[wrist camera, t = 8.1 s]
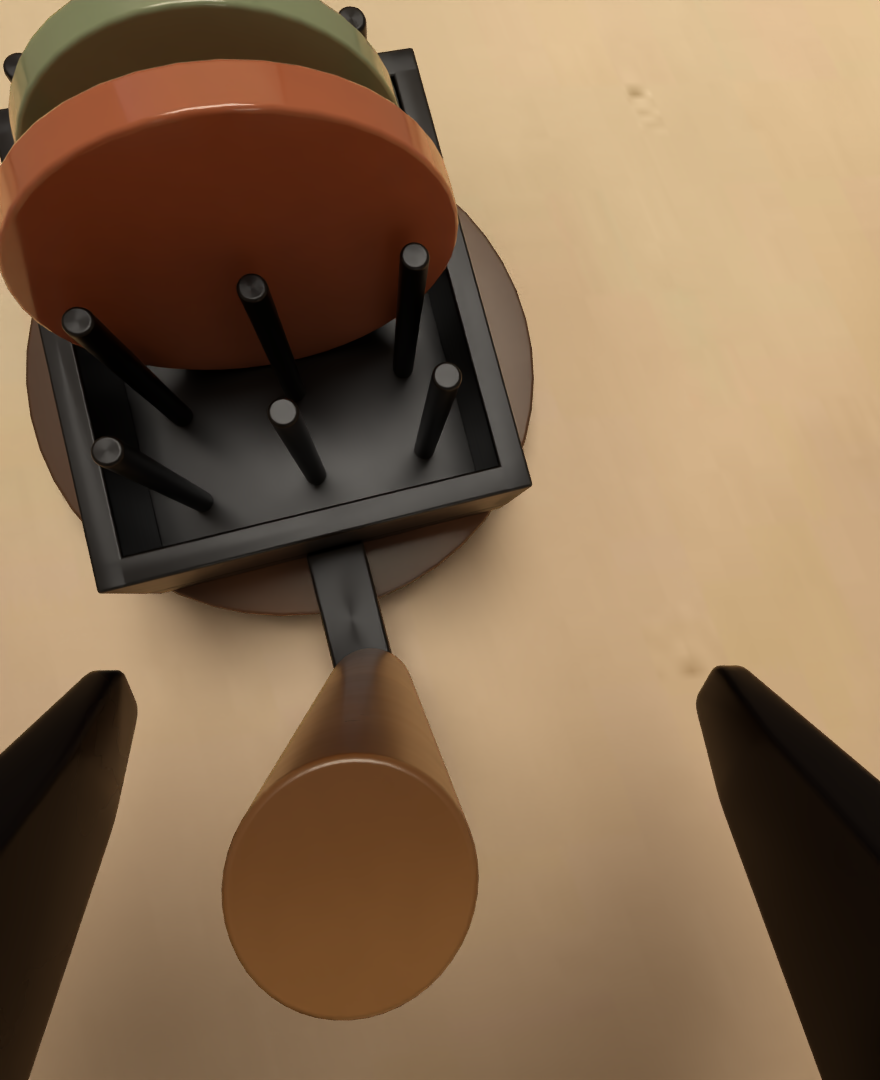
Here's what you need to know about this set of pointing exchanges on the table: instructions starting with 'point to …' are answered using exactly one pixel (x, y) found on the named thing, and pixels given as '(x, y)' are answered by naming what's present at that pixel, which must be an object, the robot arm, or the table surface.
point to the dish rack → (270, 413)
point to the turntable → (388, 557)
